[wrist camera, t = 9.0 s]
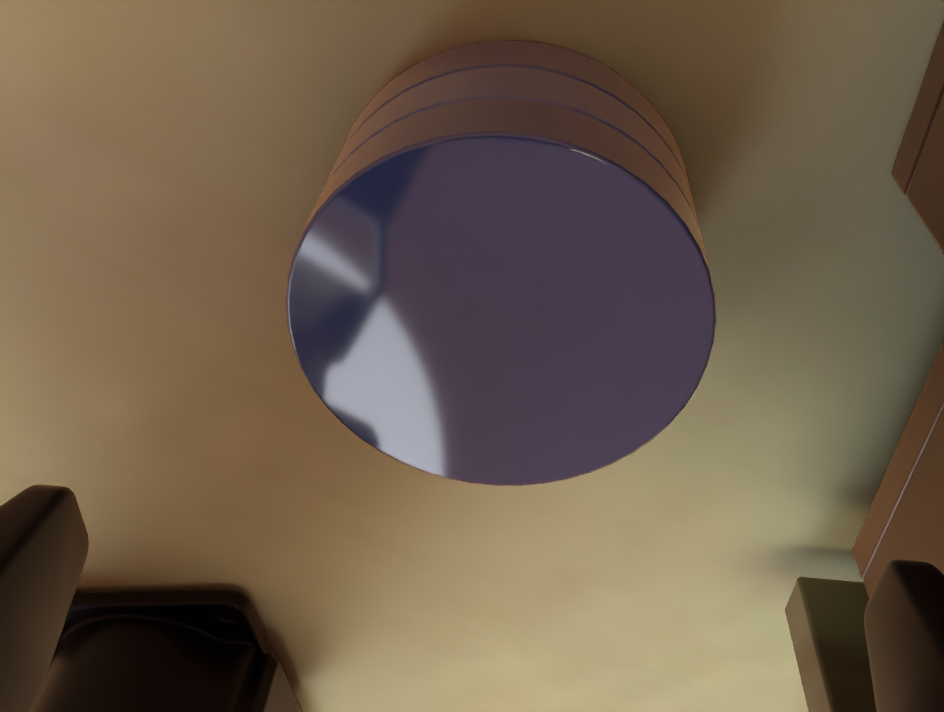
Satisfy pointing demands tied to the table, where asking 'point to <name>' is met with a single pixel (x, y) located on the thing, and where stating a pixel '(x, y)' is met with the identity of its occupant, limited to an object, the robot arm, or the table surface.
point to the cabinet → (926, 149)
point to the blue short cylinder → (504, 270)
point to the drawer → (874, 562)
